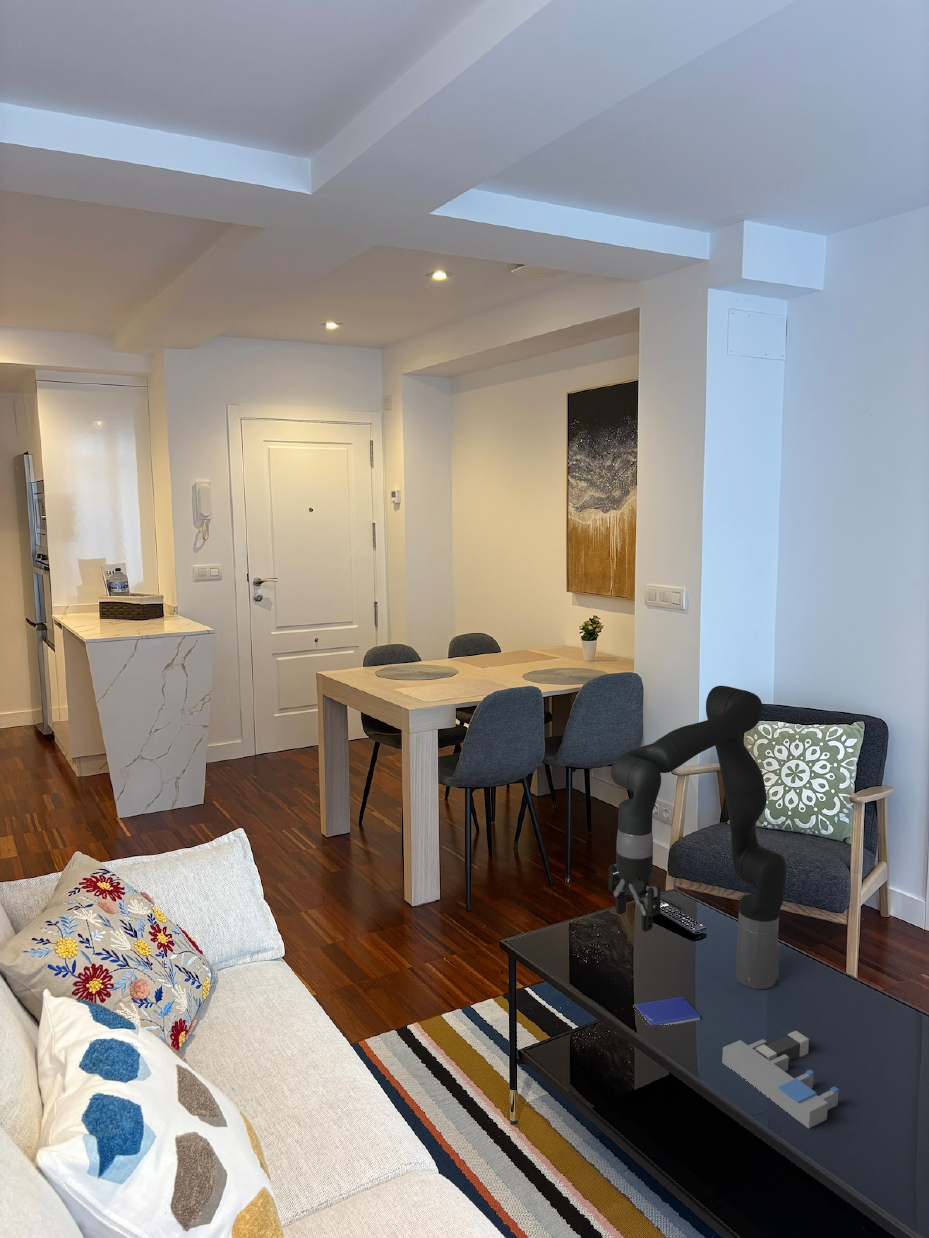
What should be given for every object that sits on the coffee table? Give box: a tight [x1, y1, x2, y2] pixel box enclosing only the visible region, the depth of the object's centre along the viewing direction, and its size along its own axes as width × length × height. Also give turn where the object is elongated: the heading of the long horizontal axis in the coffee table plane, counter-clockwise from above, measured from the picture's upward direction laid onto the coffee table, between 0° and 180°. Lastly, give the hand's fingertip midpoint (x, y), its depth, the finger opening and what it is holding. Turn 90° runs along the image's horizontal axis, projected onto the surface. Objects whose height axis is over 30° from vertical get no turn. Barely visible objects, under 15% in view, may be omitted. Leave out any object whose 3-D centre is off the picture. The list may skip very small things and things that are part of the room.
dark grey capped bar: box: [756, 1030, 810, 1062], centre depth 189 cm, size 12×3×3 cm, turn 119°
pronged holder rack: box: [721, 1038, 840, 1130], centre depth 180 cm, size 10×22×4 cm, turn 29°
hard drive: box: [633, 996, 701, 1026], centre depth 204 cm, size 2×8×12 cm
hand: (633, 921), depth 192 cm, fingers open, 8 cm apart
